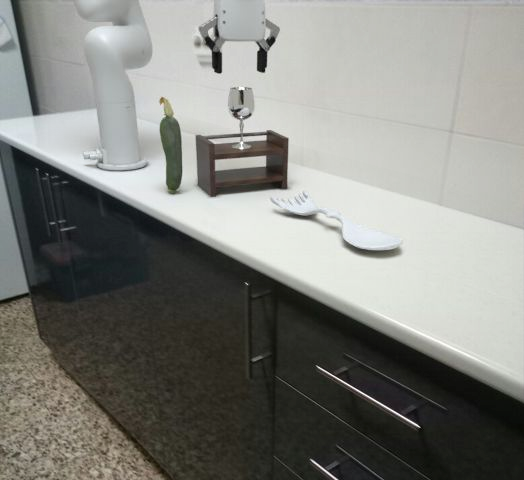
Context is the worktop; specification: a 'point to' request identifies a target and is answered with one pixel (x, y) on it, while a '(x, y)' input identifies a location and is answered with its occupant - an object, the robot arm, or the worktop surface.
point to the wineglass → (241, 109)
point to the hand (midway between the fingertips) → (239, 72)
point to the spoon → (350, 230)
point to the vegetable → (171, 147)
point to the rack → (271, 148)
